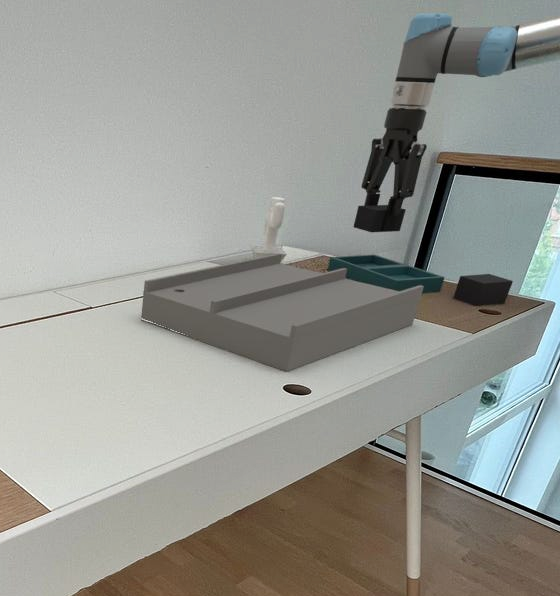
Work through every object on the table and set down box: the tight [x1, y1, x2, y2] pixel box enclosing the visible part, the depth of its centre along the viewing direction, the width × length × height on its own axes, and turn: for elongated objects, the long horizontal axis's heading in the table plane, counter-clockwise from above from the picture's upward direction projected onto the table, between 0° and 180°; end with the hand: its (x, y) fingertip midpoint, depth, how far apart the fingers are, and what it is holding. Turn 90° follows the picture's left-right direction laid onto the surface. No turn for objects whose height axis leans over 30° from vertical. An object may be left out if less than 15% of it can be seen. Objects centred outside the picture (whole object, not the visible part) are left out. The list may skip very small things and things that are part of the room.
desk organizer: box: [140, 253, 424, 373], centre depth 122 cm, size 32×40×7 cm
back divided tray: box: [327, 253, 445, 294], centre depth 152 cm, size 22×13×3 cm, turn 20°
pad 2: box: [452, 273, 514, 307], centre depth 139 cm, size 6×8×4 cm
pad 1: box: [353, 204, 406, 233], centre depth 150 cm, size 6×8×4 cm
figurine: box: [250, 196, 287, 264], centre depth 157 cm, size 7×9×15 cm
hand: (376, 227), depth 151 cm, fingers closed on pad 1, 6 cm apart
